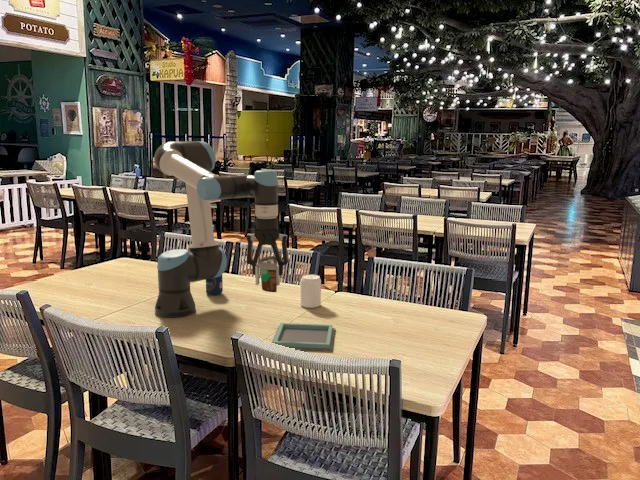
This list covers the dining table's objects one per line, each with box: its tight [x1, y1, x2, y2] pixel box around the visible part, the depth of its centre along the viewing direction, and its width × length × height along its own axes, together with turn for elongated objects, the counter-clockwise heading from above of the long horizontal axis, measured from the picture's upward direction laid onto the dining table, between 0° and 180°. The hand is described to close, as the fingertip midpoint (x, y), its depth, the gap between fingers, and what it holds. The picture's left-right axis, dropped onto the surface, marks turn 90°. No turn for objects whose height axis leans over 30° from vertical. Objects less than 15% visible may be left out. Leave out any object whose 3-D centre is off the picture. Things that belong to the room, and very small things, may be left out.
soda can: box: [205, 274, 224, 297], centre depth 240 cm, size 7×7×12 cm
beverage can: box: [300, 273, 322, 309], centre depth 226 cm, size 8×8×12 cm
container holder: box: [271, 322, 336, 352], centre depth 192 cm, size 20×20×2 cm
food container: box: [257, 255, 278, 293], centre depth 192 cm, size 12×6×10 cm, turn 4°
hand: (267, 284), depth 193 cm, fingers closed on food container, 6 cm apart
